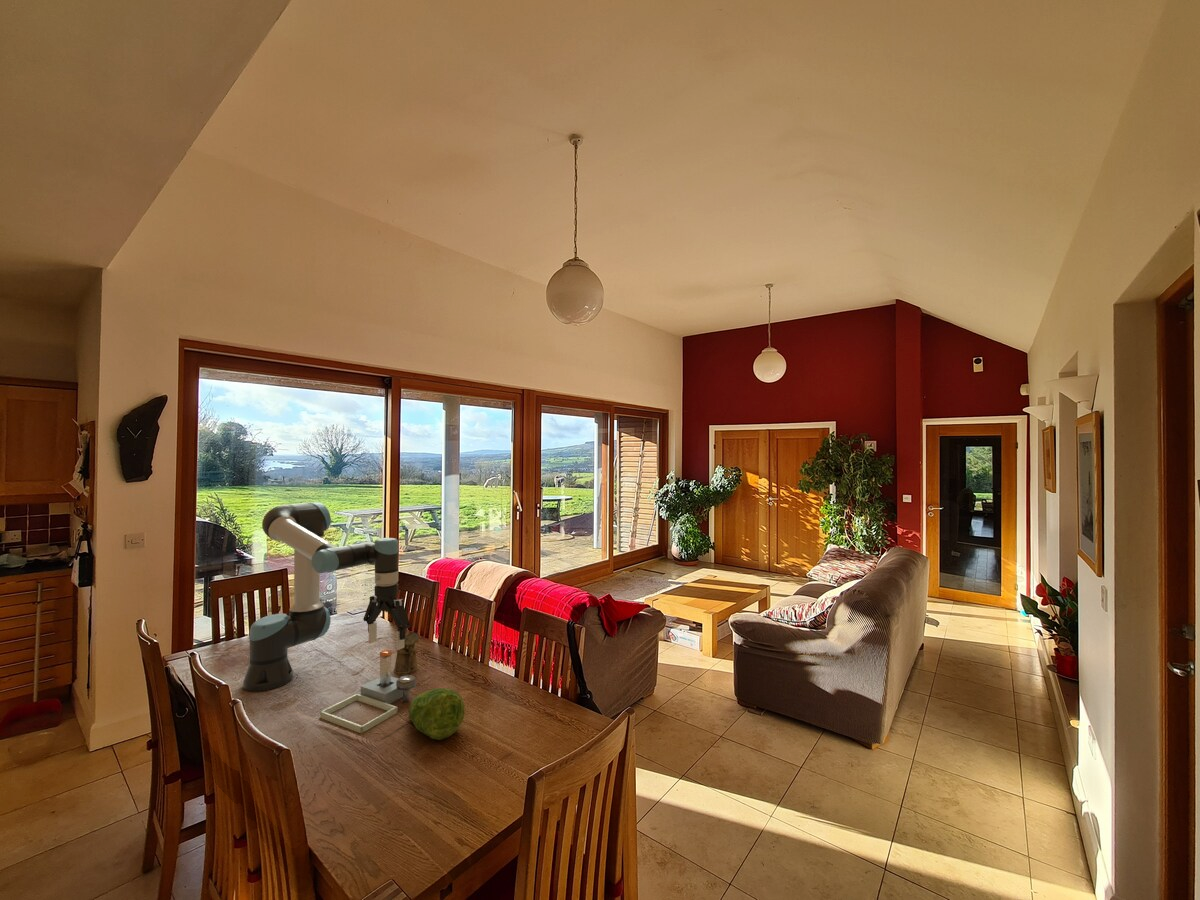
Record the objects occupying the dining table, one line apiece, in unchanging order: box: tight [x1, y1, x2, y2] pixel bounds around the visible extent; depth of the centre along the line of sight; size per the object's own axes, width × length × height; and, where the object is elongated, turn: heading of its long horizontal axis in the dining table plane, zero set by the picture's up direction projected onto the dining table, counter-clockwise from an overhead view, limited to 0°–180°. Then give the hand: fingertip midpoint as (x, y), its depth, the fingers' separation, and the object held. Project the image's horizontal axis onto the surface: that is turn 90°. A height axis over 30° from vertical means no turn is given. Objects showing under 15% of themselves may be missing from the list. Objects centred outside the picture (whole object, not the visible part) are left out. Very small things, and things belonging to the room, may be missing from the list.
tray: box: [319, 693, 398, 738], centre depth 157 cm, size 19×13×3 cm
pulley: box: [396, 674, 418, 703], centre depth 166 cm, size 6×6×8 cm
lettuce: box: [408, 687, 466, 741], centre depth 152 cm, size 14×23×13 cm, turn 43°
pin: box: [379, 649, 393, 688], centre depth 169 cm, size 4×4×15 cm
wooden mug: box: [393, 631, 420, 676], centre depth 188 cm, size 9×14×18 cm, turn 36°
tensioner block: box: [360, 675, 403, 705], centre depth 169 cm, size 12×10×5 cm
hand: (386, 645), depth 169 cm, fingers open, 13 cm apart
